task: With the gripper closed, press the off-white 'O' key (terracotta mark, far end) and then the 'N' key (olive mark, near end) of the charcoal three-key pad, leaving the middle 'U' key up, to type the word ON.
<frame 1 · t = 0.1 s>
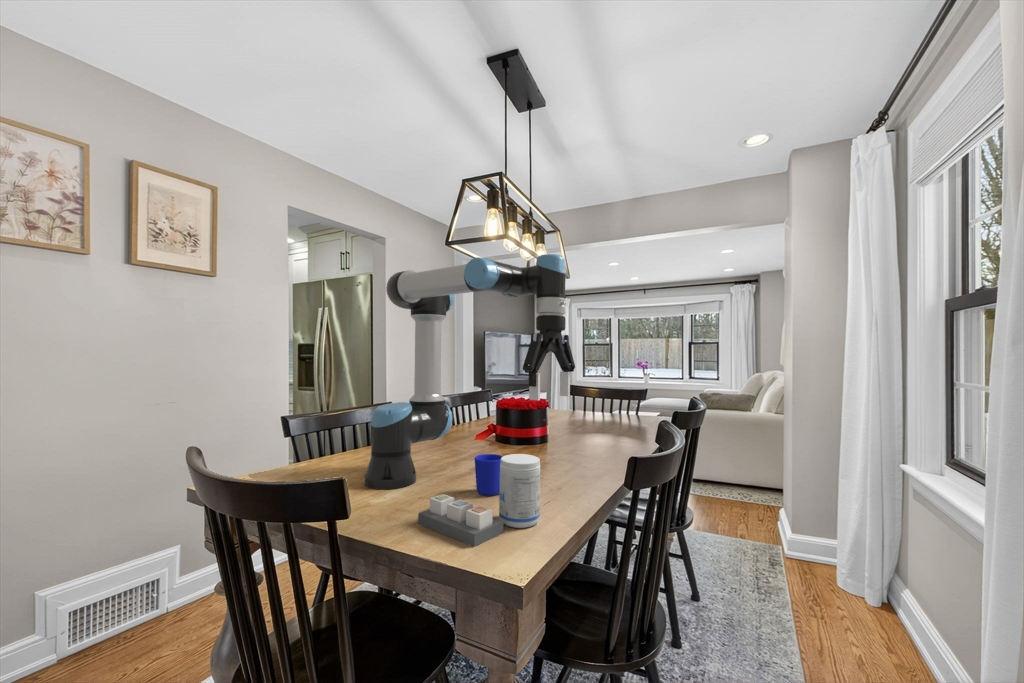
hand: (550, 398, 110), 28 cm above the table, fingers open, 13 cm apart
keypad base: (459, 528, 96), on the table
key O: (479, 517, 93), point 4 cm above the table, slide at 0.0 cm
key U: (459, 510, 97), point 4 cm above the table, slide at 0.0 cm
mug: (495, 493, 121), on the table
supplement tub: (519, 522, 101), on the table
key N: (442, 504, 100), point 4 cm above the table, slide at 0.0 cm
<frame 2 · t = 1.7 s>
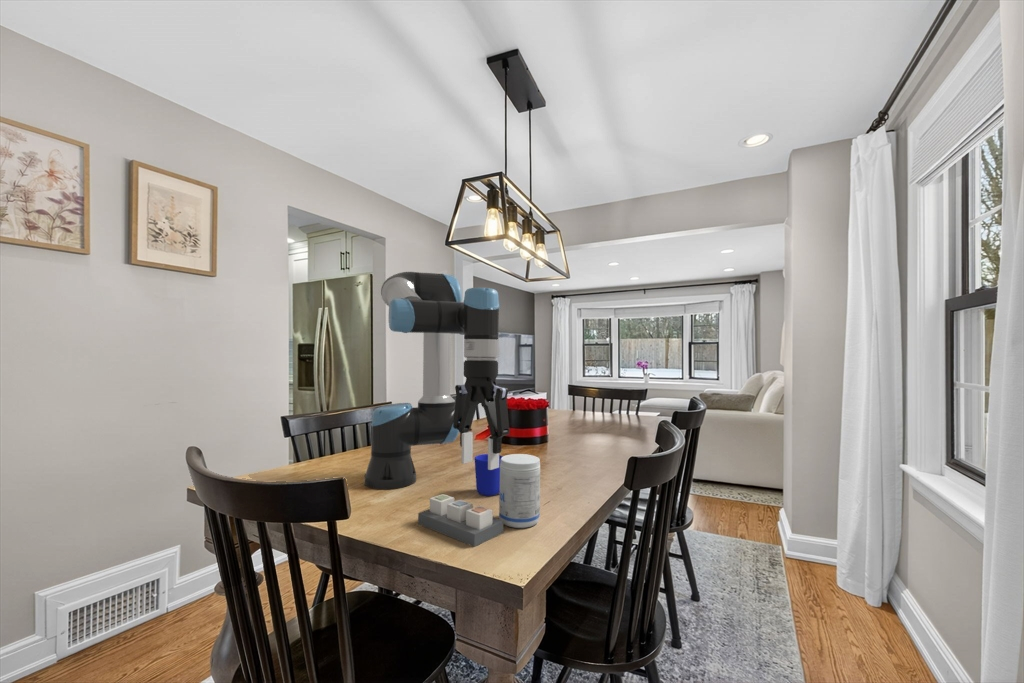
hand: (479, 465, 93), 15 cm above the table, fingers open, 7 cm apart
nothing on the table moved.
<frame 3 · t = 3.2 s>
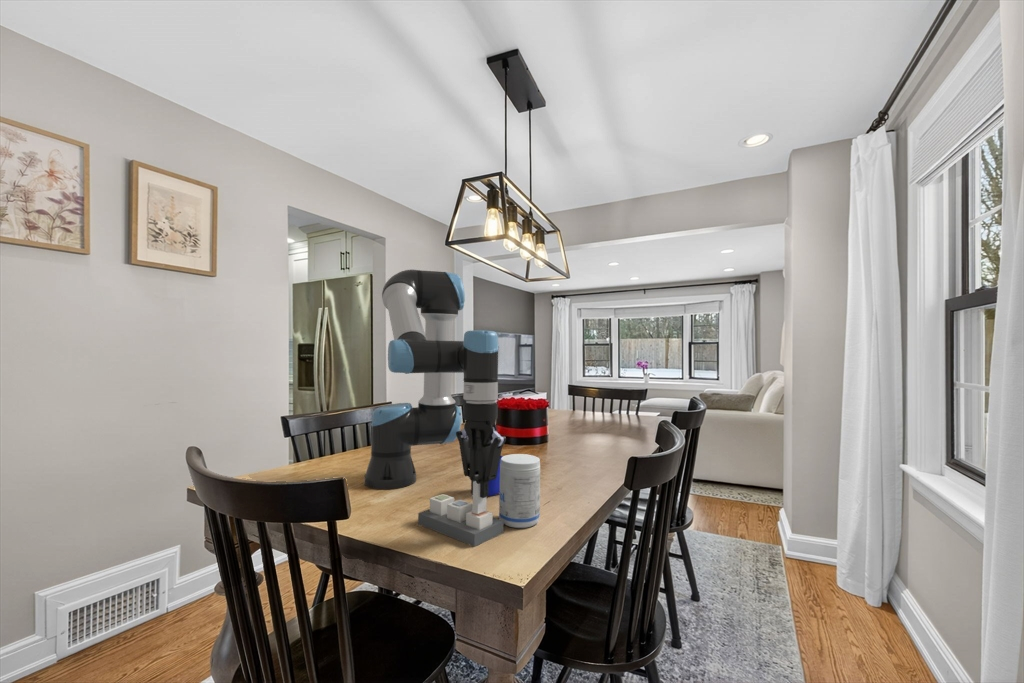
hand: (479, 511, 93), 5 cm above the table, fingers closed
key O: (479, 520, 93), point 3 cm above the table, slide at -0.6 cm, touching gripper
everything else where it was.
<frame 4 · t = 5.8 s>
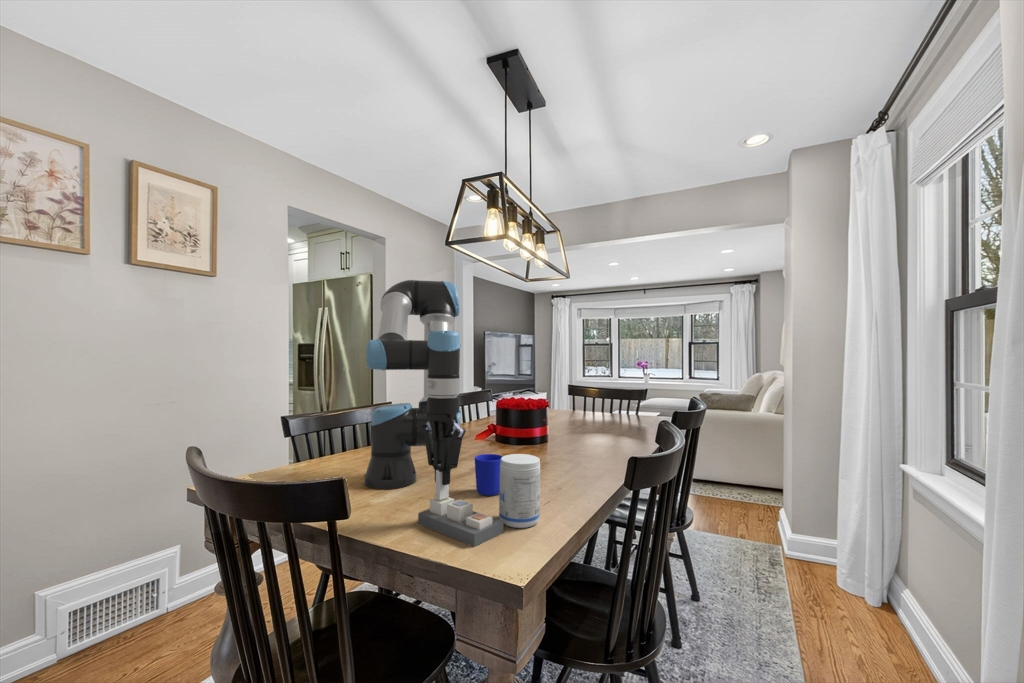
hand: (442, 497, 100), 6 cm above the table, fingers closed
key O: (479, 524, 93), point 2 cm above the table, slide at -1.5 cm
key N: (442, 506, 100), point 4 cm above the table, slide at -0.3 cm, touching gripper
everything else where it was.
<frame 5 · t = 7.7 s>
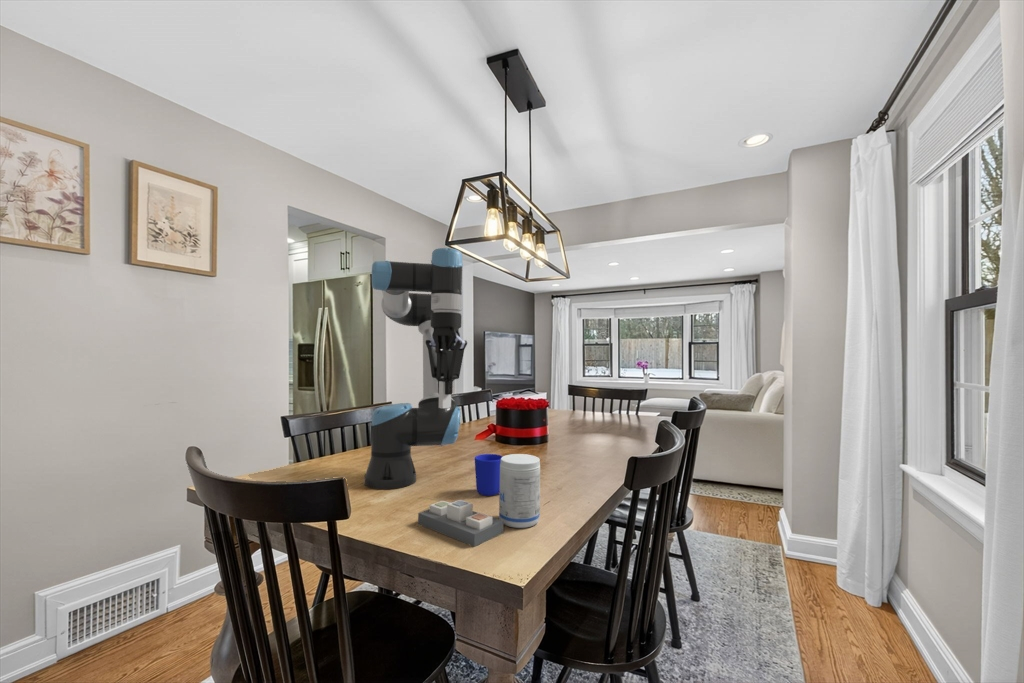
hand: (444, 407, 106), 26 cm above the table, fingers closed
key N: (441, 511, 100), point 2 cm above the table, slide at -1.5 cm
everything else where it was.
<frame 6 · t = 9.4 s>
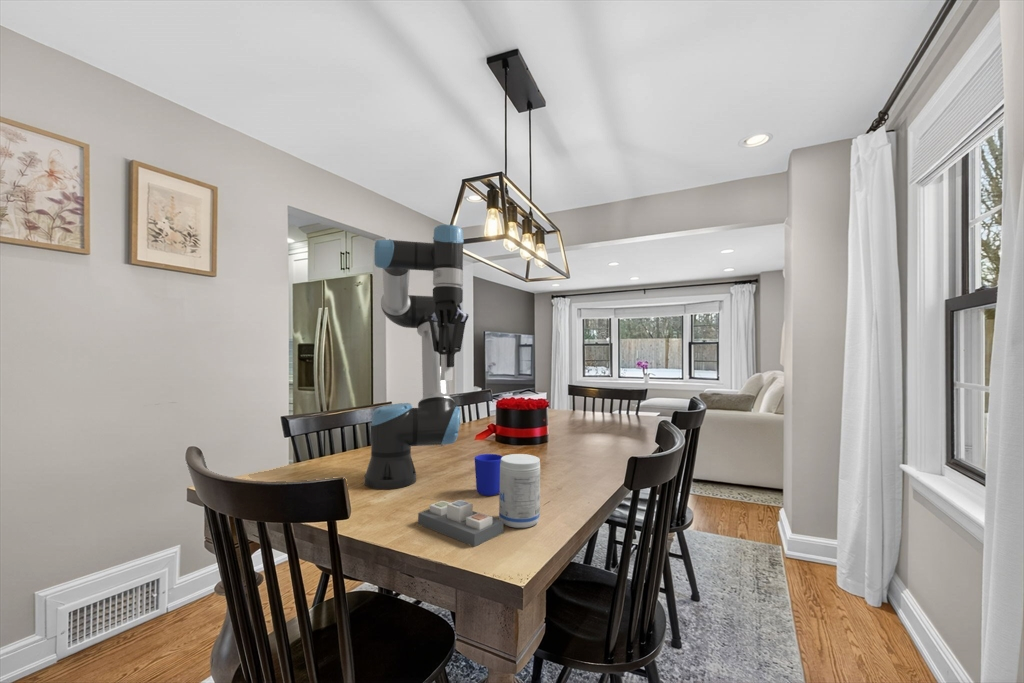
hand: (446, 380, 109), 32 cm above the table, fingers closed
nothing on the table moved.
at the end: key O slide at -1.5 cm; key N slide at -1.5 cm; key U slide at 0.0 cm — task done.
